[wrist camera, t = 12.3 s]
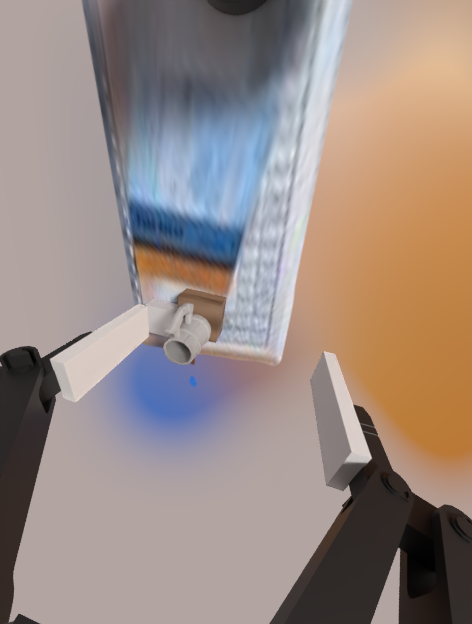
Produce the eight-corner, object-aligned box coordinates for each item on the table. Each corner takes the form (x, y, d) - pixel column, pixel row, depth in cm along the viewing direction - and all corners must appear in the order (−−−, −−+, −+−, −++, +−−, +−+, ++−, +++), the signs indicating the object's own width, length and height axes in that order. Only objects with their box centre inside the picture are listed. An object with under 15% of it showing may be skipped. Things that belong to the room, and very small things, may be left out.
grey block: (154, 298, 53) (145, 304, 50) (182, 305, 52) (175, 312, 49) (155, 324, 57) (146, 331, 53) (181, 331, 56) (175, 339, 53)
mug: (184, 339, 51) (158, 372, 40) (177, 295, 46) (144, 320, 35) (213, 342, 49) (194, 378, 39) (209, 296, 44) (185, 323, 33)
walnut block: (187, 288, 50) (177, 295, 46) (226, 297, 49) (220, 306, 44) (185, 322, 55) (177, 332, 50) (221, 332, 53) (215, 342, 49)
